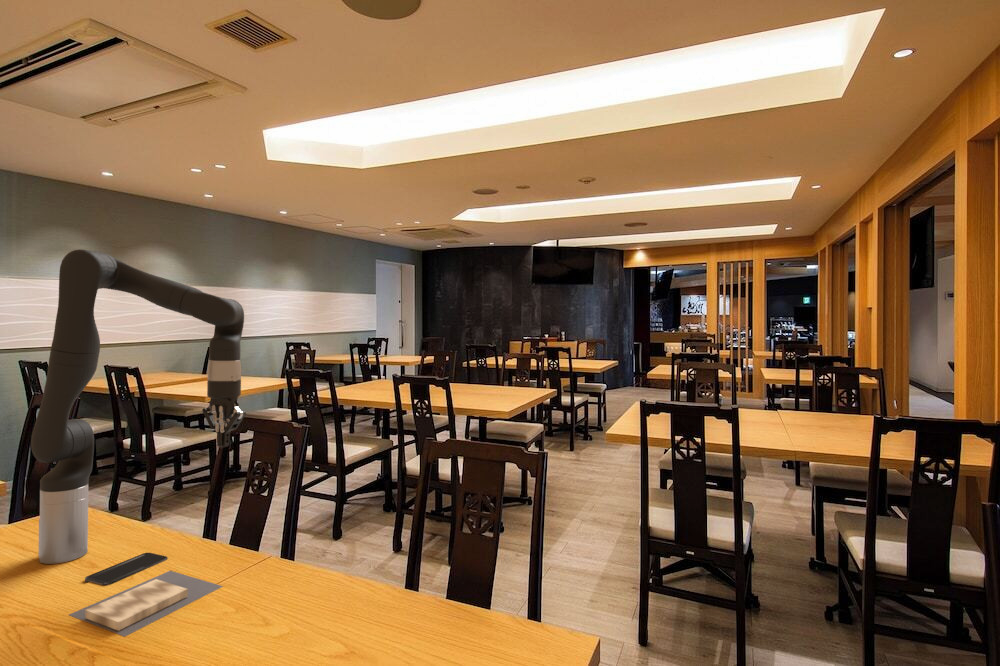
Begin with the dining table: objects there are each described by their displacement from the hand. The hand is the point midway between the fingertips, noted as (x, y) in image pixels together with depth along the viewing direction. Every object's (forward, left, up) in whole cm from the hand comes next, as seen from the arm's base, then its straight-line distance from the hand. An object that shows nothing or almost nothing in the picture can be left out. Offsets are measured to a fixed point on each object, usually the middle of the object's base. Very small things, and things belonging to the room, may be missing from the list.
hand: (223, 446), depth 135 cm
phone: (-11, -16, -28) cm, 34 cm away
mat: (+7, -23, -27) cm, 36 cm away
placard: (+8, -19, -26) cm, 33 cm away
